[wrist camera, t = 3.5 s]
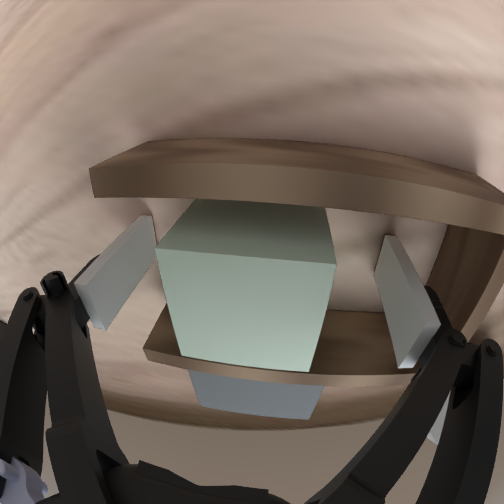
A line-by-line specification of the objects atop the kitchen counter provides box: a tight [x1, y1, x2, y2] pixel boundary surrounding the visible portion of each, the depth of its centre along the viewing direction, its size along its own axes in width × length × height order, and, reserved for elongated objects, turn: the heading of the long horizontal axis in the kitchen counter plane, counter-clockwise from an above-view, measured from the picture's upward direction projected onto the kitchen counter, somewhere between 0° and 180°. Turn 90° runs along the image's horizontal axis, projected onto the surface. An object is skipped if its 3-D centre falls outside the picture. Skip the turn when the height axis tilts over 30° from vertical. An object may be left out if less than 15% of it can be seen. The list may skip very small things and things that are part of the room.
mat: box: [189, 370, 324, 419], centre depth 23 cm, size 12×12×1 cm
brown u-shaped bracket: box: [89, 138, 504, 386], centre depth 13 cm, size 18×11×5 cm, turn 90°
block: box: [155, 199, 337, 372], centre depth 13 cm, size 6×6×6 cm
